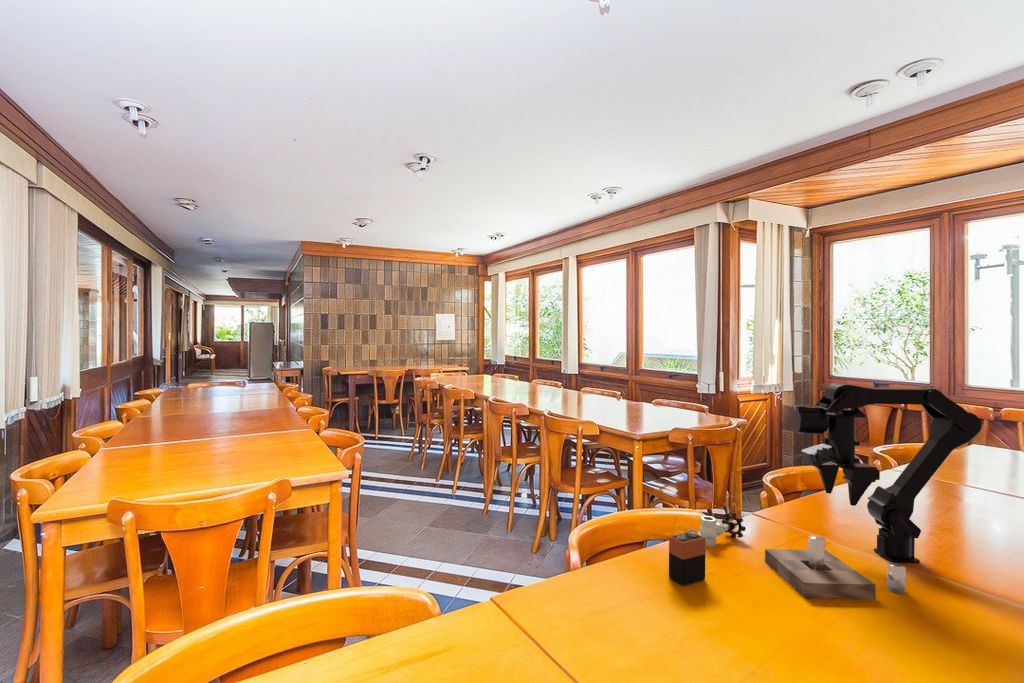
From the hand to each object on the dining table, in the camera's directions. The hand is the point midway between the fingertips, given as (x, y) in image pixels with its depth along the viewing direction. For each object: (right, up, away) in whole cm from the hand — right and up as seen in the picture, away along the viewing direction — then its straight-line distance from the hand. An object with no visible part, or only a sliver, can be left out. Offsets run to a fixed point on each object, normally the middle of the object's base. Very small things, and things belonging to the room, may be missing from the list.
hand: (840, 499), depth 120 cm
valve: (-27, -13, +6) cm, 31 cm away
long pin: (-14, -13, -14) cm, 24 cm away
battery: (-42, -13, -14) cm, 46 cm away
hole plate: (-14, -13, -14) cm, 24 cm away
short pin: (0, -13, -18) cm, 22 cm away
